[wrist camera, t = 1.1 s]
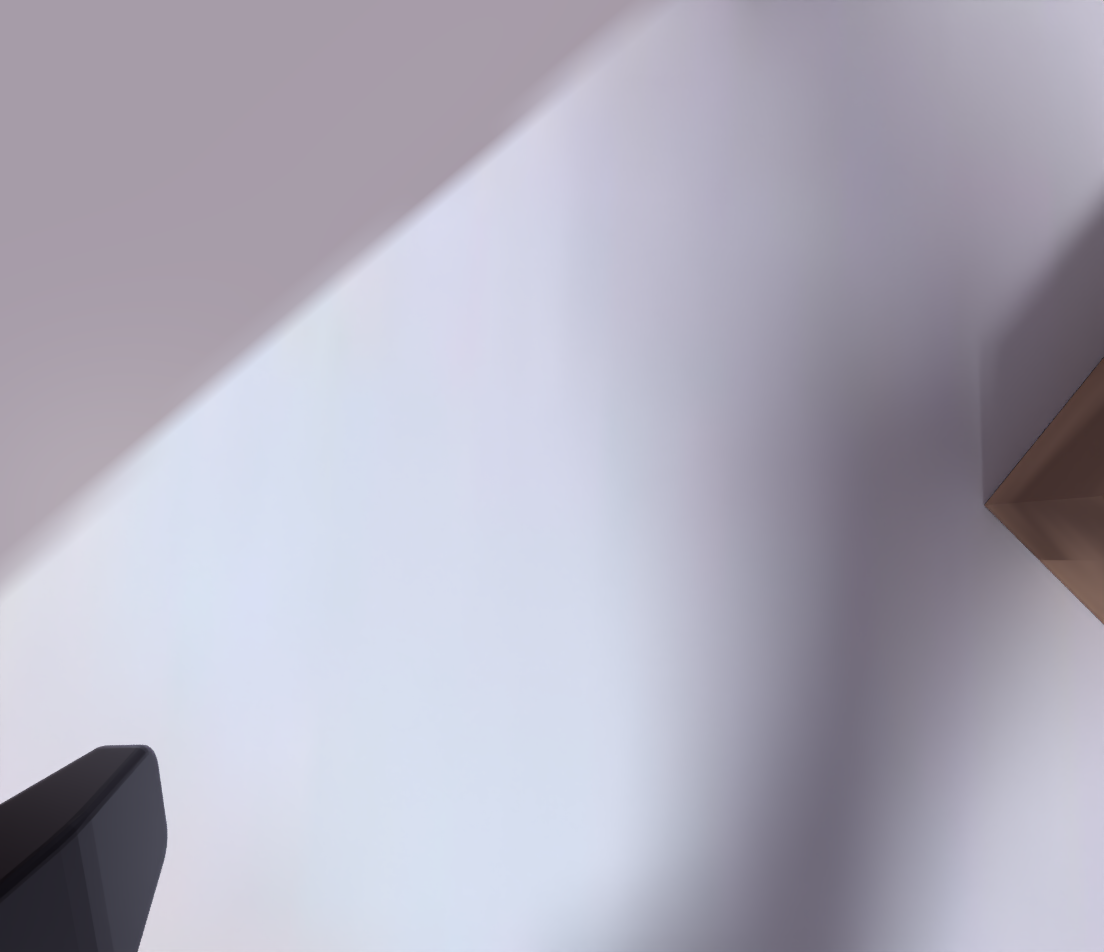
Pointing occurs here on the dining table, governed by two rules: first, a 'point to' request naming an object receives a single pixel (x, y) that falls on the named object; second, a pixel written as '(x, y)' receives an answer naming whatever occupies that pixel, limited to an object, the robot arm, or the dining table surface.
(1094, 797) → the dining table surface
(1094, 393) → the bore block
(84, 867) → the robot arm
